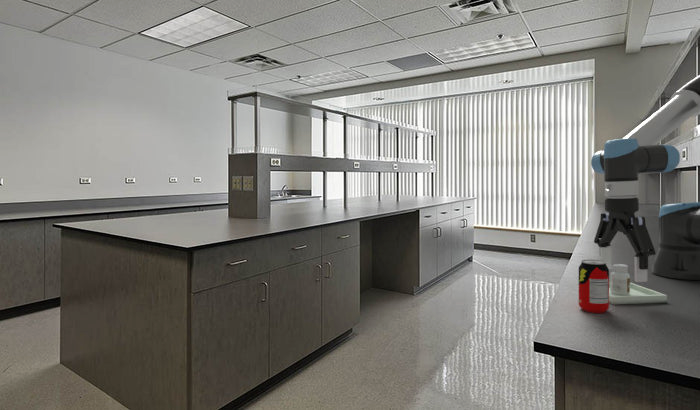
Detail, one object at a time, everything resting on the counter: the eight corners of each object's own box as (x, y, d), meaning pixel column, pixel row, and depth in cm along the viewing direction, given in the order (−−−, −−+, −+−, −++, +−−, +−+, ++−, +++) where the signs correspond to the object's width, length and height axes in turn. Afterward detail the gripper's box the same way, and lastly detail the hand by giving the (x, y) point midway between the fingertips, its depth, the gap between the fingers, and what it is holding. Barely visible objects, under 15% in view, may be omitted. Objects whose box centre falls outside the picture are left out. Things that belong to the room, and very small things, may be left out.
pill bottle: (633, 295, 106) (633, 266, 105) (614, 295, 107) (614, 266, 106) (625, 291, 110) (625, 263, 109) (607, 290, 111) (607, 263, 110)
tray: (627, 287, 115) (627, 281, 115) (666, 302, 101) (667, 295, 101) (579, 289, 115) (579, 283, 115) (612, 304, 101) (612, 297, 101)
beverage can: (606, 307, 99) (607, 259, 98) (610, 315, 93) (610, 264, 92) (577, 304, 102) (577, 258, 101) (579, 312, 96) (579, 263, 95)
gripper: (579, 196, 119) (581, 266, 120) (642, 200, 94) (643, 288, 96) (604, 194, 119) (605, 264, 121) (673, 198, 94) (674, 286, 96)
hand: (622, 275), depth 108 cm, fingers open, 13 cm apart
